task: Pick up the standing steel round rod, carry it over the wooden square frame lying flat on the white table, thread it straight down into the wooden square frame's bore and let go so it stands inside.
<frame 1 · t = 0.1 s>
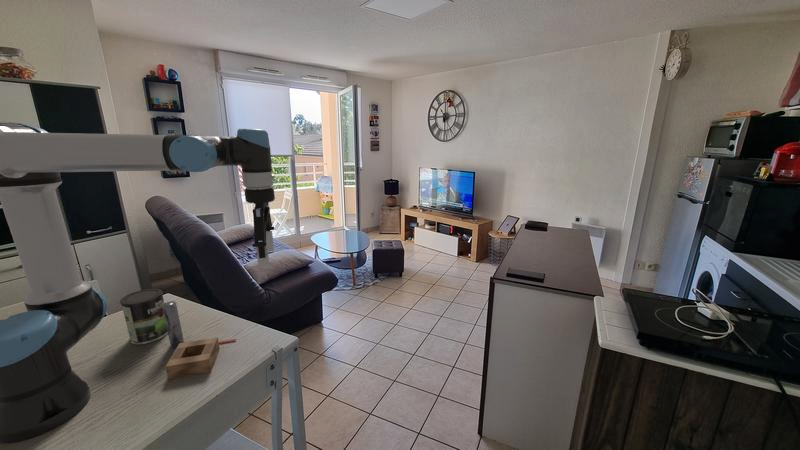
hand: (266, 259, 90), 28 cm above the table, fingers open, 13 cm apart
thin red bar: (211, 344, 96), on the table
coffee can: (151, 335, 100), on the table
wooden square frame: (195, 362, 88), on the table
steel round rod: (177, 344, 95), on the table
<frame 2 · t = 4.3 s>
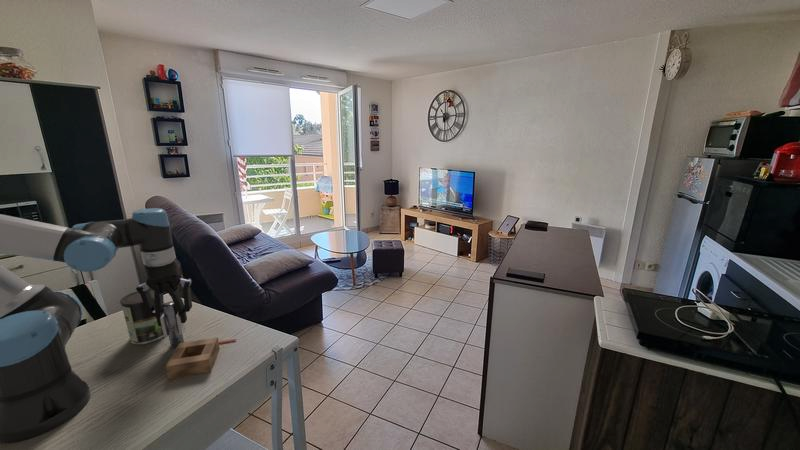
hand: (175, 332, 94), 4 cm above the table, fingers closed on steel round rod, 3 cm apart
steel round rod: (177, 344, 95), on the table, touching gripper
everything else where it was.
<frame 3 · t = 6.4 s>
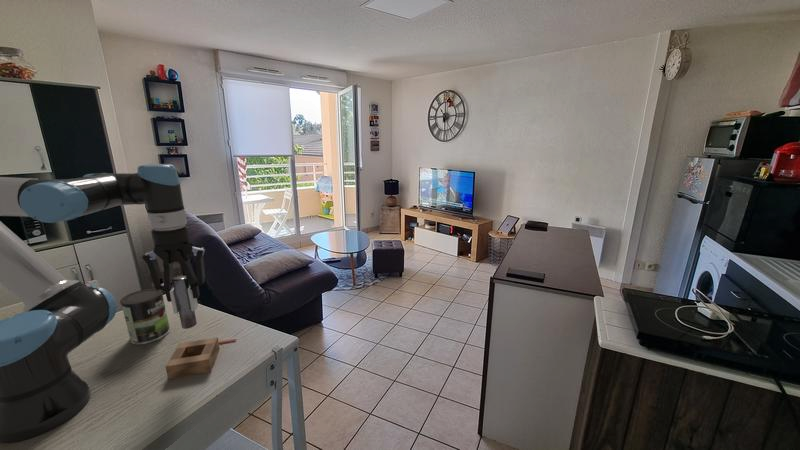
hand: (186, 309, 83), 17 cm above the table, fingers closed on steel round rod, 3 cm apart
steel round rod: (189, 325, 85), point 12 cm above the table, touching gripper
everything else where it was.
when the fingers open (6 cm above the table, at t = 8.7 s): steel round rod drops 1 cm, resting in wooden square frame.
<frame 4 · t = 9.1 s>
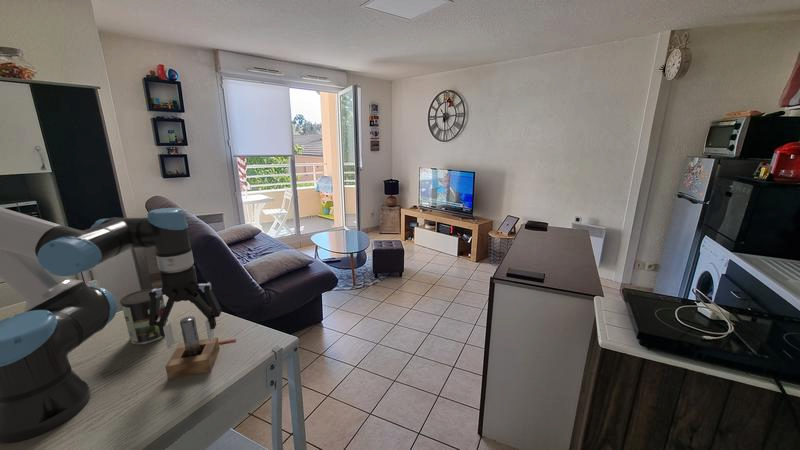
hand: (191, 341, 86), 7 cm above the table, fingers open, 9 cm apart
steel round rod: (195, 362, 88), resting in wooden square frame
everything else where it was.
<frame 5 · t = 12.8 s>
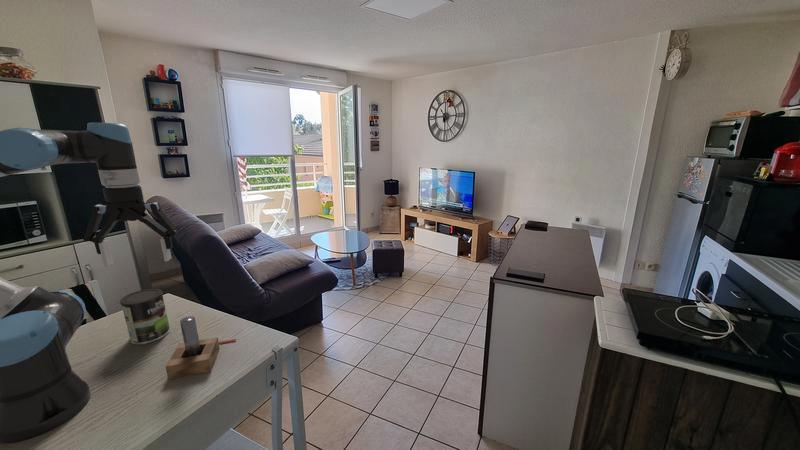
hand: (139, 262, 85), 29 cm above the table, fingers open, 13 cm apart
nothing on the table moved.
at the end: steel round rod 0.0 cm off-centre on the wooden square frame, point 0.0 cm above the wooden square frame's base; the gripper is holding nothing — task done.
